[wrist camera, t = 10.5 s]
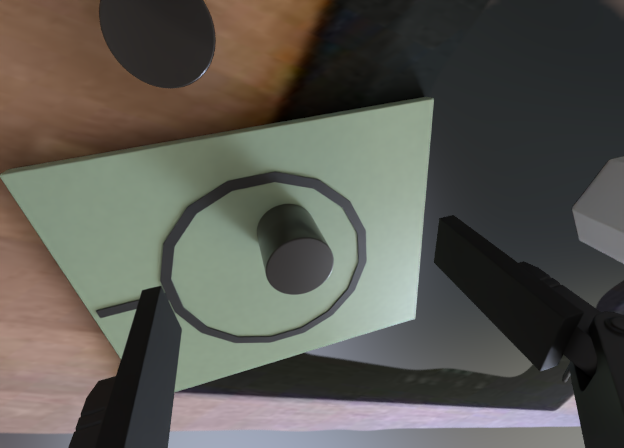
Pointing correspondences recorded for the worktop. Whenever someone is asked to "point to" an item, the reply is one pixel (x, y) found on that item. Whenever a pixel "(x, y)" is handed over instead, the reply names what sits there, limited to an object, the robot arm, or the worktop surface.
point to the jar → (603, 211)
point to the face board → (242, 231)
